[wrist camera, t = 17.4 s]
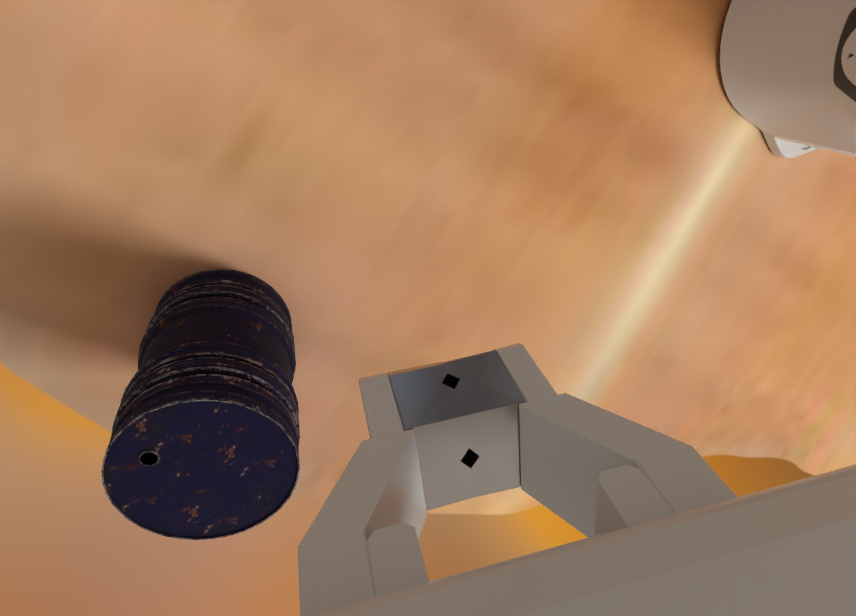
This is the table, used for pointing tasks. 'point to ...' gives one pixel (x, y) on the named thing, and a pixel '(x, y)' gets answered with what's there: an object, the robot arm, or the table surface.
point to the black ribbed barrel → (208, 412)
